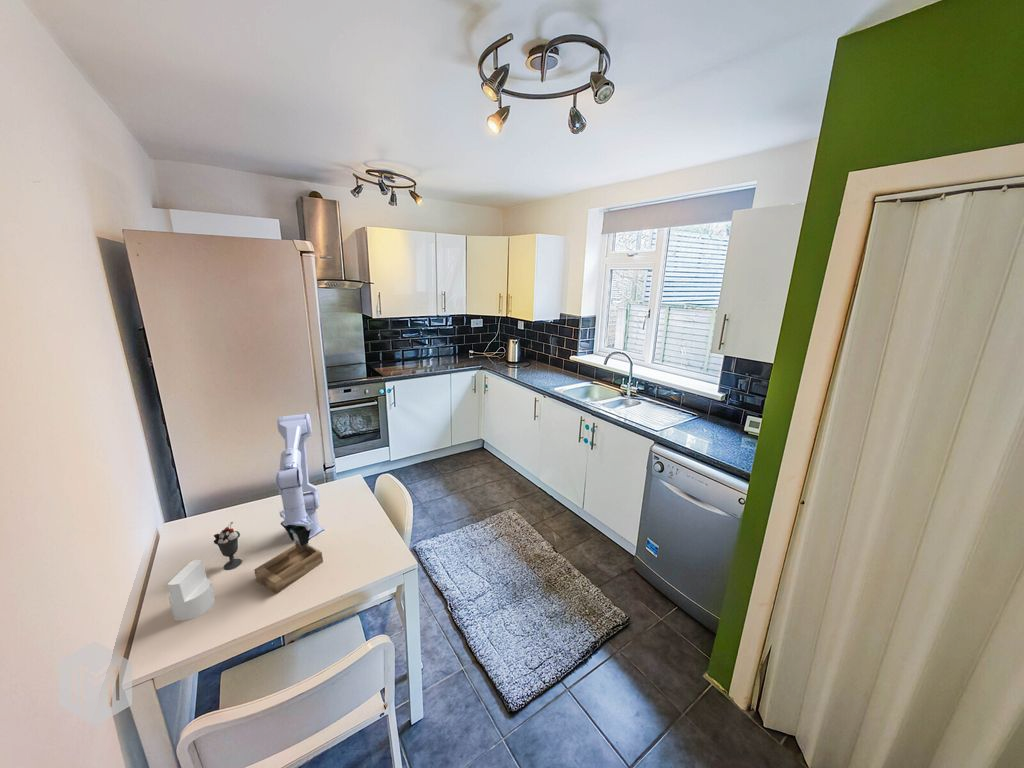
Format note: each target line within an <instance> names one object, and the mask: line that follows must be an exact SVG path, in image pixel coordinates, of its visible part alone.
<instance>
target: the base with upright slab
mask: <svg viewBox="0 0 1024 768" xmlns="http://www.w3.org/2000/svg"><path fill="white" fill-rule="evenodd" d="M167 587H168V591H169V595H168V600H169V604H170V609H171V612H172V614H173V618H174V619H175V621H179V622H186V621H190V620H193V619H195V618H197V617H200V616H202V615H203V614H204V613H206V612H207V611H209V610H210V609H211V608H212V607H213V606H214V604H215V601H216V600H215V599H216V598H215V594H214V590H213V585H212V582H211V579H209V578H208V577H207V574H206V570H205V566H204V562H203V560H201V559H199V560H198V559H196V560H195V559H194V560H191V561H190V562H188V563H187V564H186V566H185V567H184V568H182V569H181V570H180V571H179V572H178V573H177V574H176V575H175V576H174V577H173V578H172V579H171V580H170V581H169V582H168V583H167Z"/></svg>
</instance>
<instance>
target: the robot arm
mask: <svg viewBox="0 0 1024 768" xmlns="http://www.w3.org/2000/svg"><path fill="white" fill-rule="evenodd" d="M311 419H312V418H311V414H309V413H303V414H294V415H285V416H279V417H278V418H277V420H276V421H277V430H278V433H279V434H280V437H282V438H283V440H284V446H285V450H283V451H282V452H281V454H280V458H279V459H280V460H279V469H278V470H279V472H276V475H275V483H276V484H275V485H276V487H277V490H278V493H279V496H280V497H281V502H282V507H283V509H281V510H280V511H279V516H280V518H282V519H283V521H281V522H280V525H281V526H282V527H283V528H284V529H285V531H286V532H287V535H288V537H289V538H290V539H291V541H292V542H295V541H294V537H293V533H291V532H290V528H291V527H292V526H293V525H298V527H296V528H295V529H293V531H294V532H295V533H296V535H297V536H298V539H299V542H300V544H301V546H304V545H305V544H307V543H308V544H309V541H310V539H311V538H313V537H314V536H316V535H318V534H319V533H321V532H323V531H325V527H324V526H322V525H319V518H318V511H317V510H318V509H319V507H320V503H321V501H320V500H321V499H320V493H319V488H318V487H317V486H316V485H314V484H312V483H310V481H309V480H310V479H309V470H308V456H307V444H306V443H307V439H308V438H309V437H311V436H312V432H313V429H312V420H311Z"/></svg>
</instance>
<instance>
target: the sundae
mask: <svg viewBox="0 0 1024 768" xmlns="http://www.w3.org/2000/svg"><path fill="white" fill-rule="evenodd" d="M233 523H234V522H233V521H231V522H230V523H229V525H228V526H226V527H225V528H224V529H223V530H221V531H220V532H219V533H216V534H213V537H214V538H215V539H214V540H213V544H214V545H217V546H218V548H219V551H220V553H221V554H222V556H223V557H226V558H227V557H228V558H229V561H227V562H226V563H225V564H224V565H223V570H227V571H230V570H233V569H237V568H238V567H240V566H241V565H242V563H243V559H241V558H235V557H234V556H235V554H236V553H237V552H238V550H239V549H238V548H239V544H238V543H239V542H238V540H239V539H238V538H240V536H241V534H240V531H238V530H235V529H234V528H232V524H233Z"/></svg>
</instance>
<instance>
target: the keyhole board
mask: <svg viewBox="0 0 1024 768" xmlns="http://www.w3.org/2000/svg"><path fill="white" fill-rule="evenodd" d="M322 563H324V557H323V552H322V551H320V550H319V549H317V548H315V547H313V546H311V545H309V547H308V548H307V549H305V550H303V551H297V550H296V546H295V544H294V545H292V546H291V547H289V548H288V549H285V550H284V551H282V552H281V553H279V554H277V555H276V556H274V557H273V558H271V559H269V560H268V561H266V562H264V563H263V564H261V565H258V567H256V568H255V569H253V571H254V575H255V579H256V581H257V582H259V583H260V584H261V585H263V586H264V587H266V588H268V589H269V590H271V591H272V592H274V594H279V593H281V592H282V591H284V590H285V589H286V588H288V587H289V586H291V585H292V584H293V583H295V582H296V581H298V580H299V579H301V578H302V577H304V576H305V575H306V574H309V572H311V571H312V570H314V569H315V568H317V567H318V566H319V565H321V564H322Z"/></svg>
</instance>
